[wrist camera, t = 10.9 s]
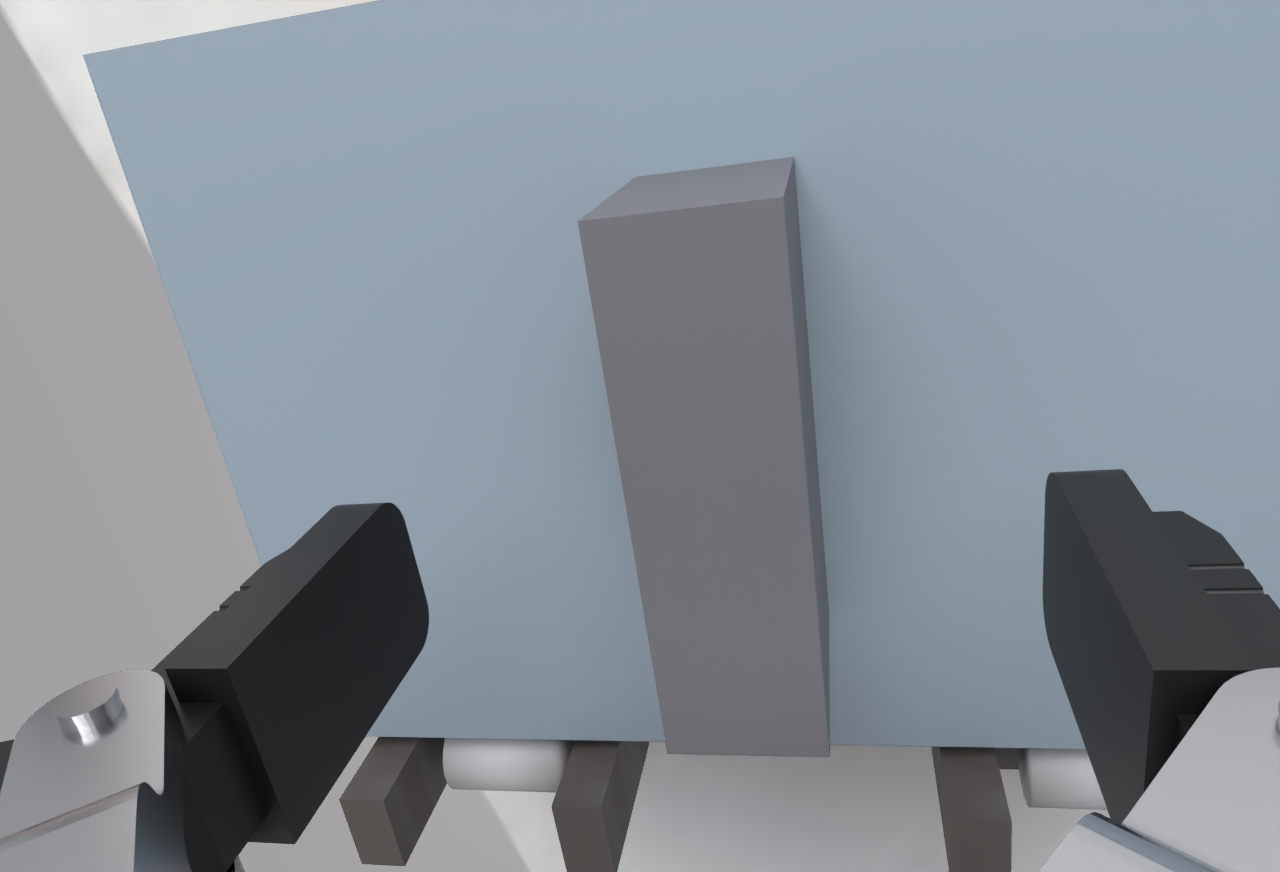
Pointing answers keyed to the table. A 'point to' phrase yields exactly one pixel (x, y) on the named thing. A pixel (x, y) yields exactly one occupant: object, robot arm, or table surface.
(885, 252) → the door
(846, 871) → the table surface
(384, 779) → the brown wooden open box
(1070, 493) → the robot arm
